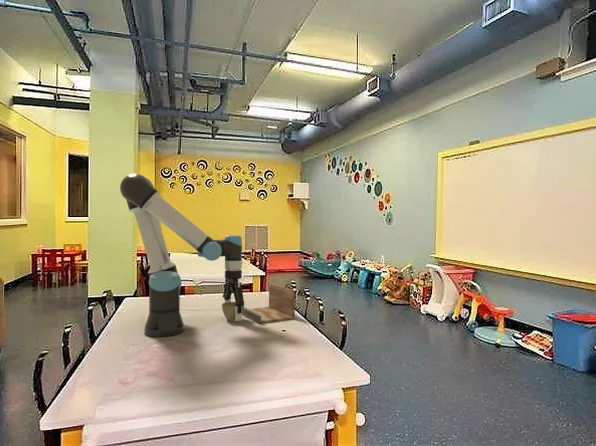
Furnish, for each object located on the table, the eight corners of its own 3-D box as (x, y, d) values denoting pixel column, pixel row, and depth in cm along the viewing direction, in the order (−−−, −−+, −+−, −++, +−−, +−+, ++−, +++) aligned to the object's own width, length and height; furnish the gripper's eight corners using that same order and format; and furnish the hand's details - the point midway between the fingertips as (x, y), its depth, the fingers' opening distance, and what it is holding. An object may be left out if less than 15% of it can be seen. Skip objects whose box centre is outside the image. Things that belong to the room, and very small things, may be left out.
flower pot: (242, 322, 180) (242, 306, 180) (219, 322, 181) (219, 306, 181) (245, 317, 190) (245, 301, 190) (224, 316, 191) (224, 301, 191)
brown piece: (258, 324, 179) (258, 294, 178) (237, 312, 199) (237, 285, 199) (294, 319, 188) (294, 290, 188) (270, 308, 209) (271, 282, 208)
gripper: (252, 272, 176) (251, 322, 177) (231, 266, 198) (230, 310, 198) (235, 273, 173) (235, 324, 173) (216, 267, 194) (215, 312, 194)
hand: (232, 317), depth 186 cm, fingers open, 12 cm apart
